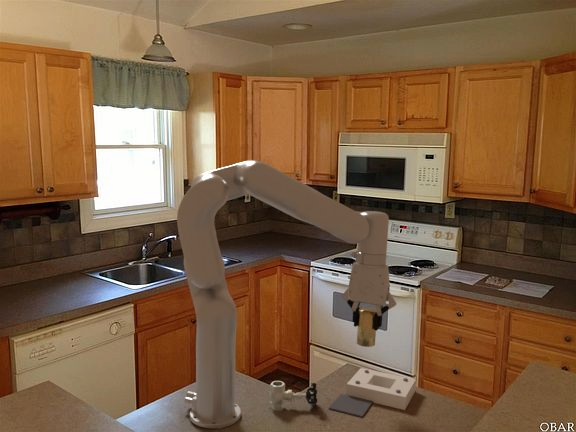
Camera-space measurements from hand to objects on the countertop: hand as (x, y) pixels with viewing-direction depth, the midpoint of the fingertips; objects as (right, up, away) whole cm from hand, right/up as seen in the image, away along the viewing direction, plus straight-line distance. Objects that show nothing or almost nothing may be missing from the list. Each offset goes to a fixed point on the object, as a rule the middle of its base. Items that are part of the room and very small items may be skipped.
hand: (366, 326), depth 136 cm
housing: (+5, -20, +7) cm, 22 cm away
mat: (-4, -21, -1) cm, 21 cm away
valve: (-20, -21, -2) cm, 29 cm away
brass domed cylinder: (0, -5, +1) cm, 5 cm away
